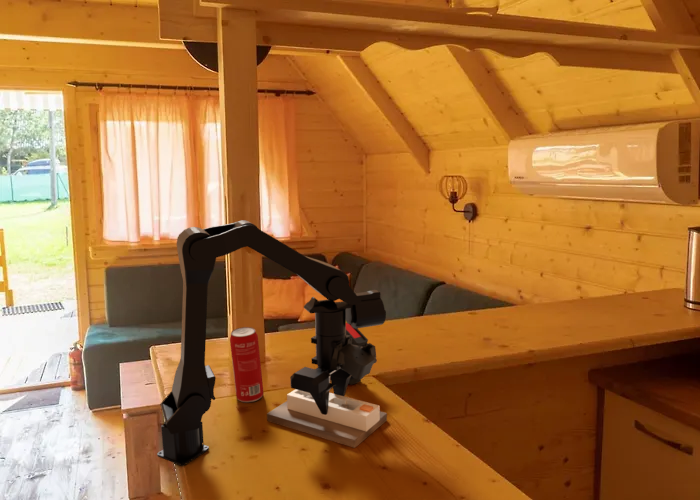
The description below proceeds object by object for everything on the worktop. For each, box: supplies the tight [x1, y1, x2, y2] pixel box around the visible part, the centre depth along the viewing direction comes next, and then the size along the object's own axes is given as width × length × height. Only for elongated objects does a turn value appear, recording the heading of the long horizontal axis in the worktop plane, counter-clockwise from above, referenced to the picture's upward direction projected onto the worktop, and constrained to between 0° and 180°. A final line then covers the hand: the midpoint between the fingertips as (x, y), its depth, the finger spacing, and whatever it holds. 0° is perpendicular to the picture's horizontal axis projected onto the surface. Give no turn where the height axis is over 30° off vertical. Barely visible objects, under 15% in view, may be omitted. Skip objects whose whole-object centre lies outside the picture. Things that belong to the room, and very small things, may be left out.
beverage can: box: [229, 326, 265, 403], centre depth 128 cm, size 6×6×15 cm
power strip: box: [286, 389, 381, 431], centre depth 118 cm, size 5×18×3 cm, turn 58°
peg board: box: [266, 395, 388, 449], centre depth 119 cm, size 12×20×4 cm, turn 58°
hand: (332, 408), depth 118 cm, fingers closed on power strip, 5 cm apart
